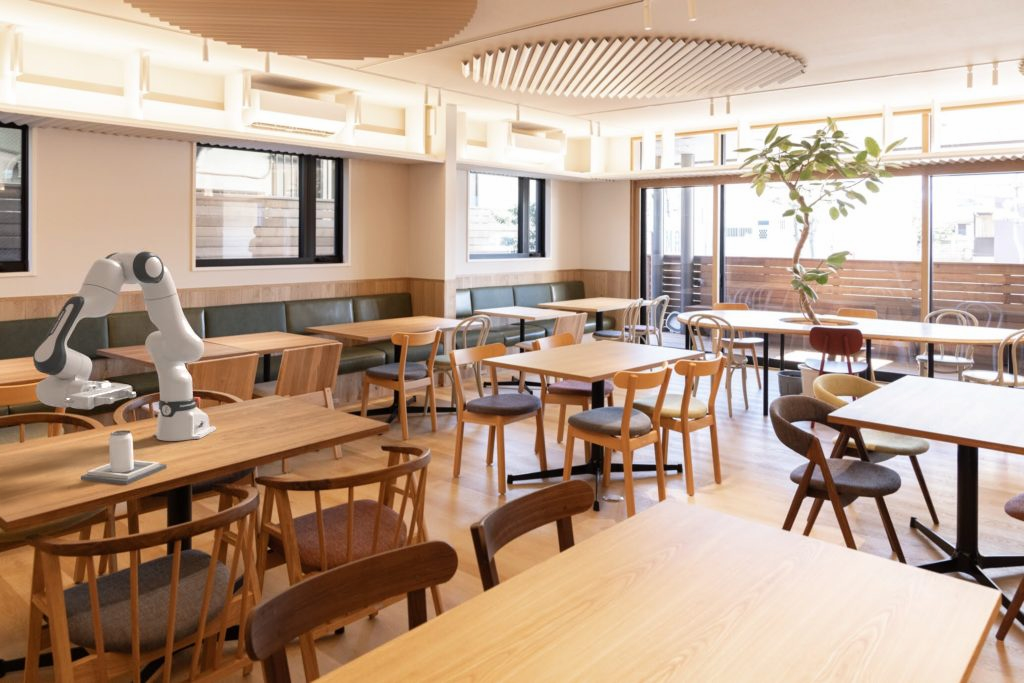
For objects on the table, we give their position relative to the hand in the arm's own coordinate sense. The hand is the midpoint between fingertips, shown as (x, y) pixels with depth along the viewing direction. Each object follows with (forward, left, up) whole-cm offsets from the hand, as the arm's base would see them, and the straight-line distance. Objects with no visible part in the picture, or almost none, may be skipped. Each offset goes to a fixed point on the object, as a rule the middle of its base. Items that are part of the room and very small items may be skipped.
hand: (123, 397), depth 243 cm
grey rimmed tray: (0, -1, -24) cm, 24 cm away
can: (+1, -1, -23) cm, 23 cm away
